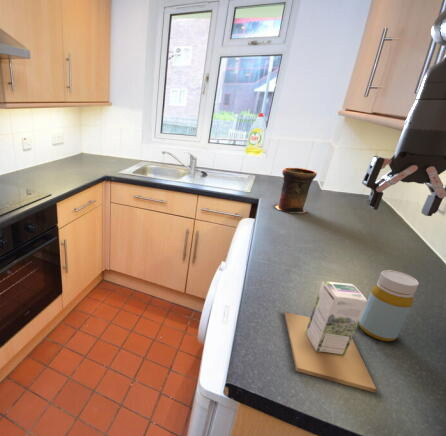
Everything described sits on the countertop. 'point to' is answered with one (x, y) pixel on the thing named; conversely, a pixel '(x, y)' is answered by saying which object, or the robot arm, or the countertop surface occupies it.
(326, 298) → the syrup box
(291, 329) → the oak board
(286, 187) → the vessel
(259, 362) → the countertop surface
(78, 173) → the countertop surface
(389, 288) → the bottle
